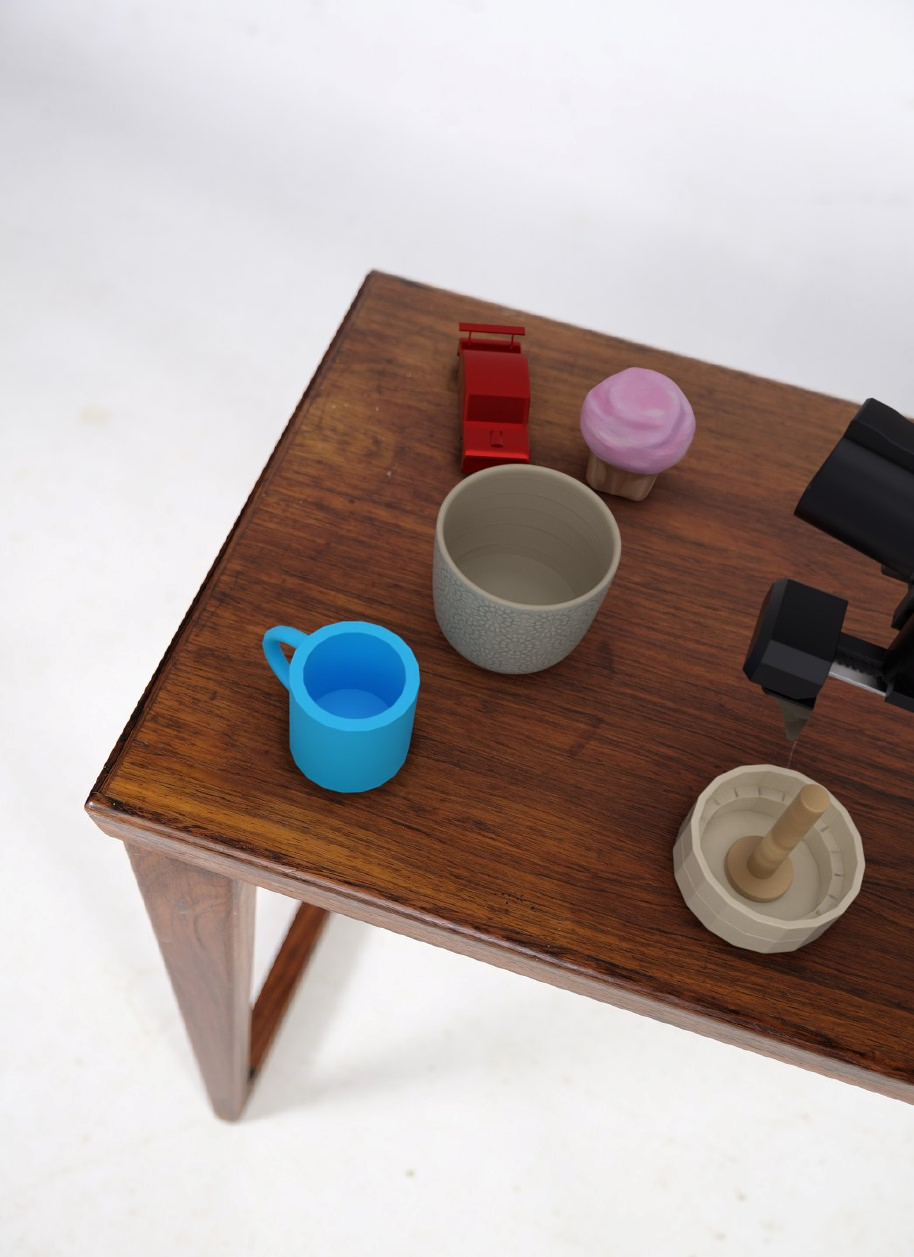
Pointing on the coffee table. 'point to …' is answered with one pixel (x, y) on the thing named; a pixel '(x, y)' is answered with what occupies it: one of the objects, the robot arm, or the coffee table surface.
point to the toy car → (493, 398)
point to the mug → (347, 701)
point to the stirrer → (774, 849)
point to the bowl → (819, 860)
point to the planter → (521, 566)
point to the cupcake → (634, 431)
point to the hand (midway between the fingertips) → (866, 763)
